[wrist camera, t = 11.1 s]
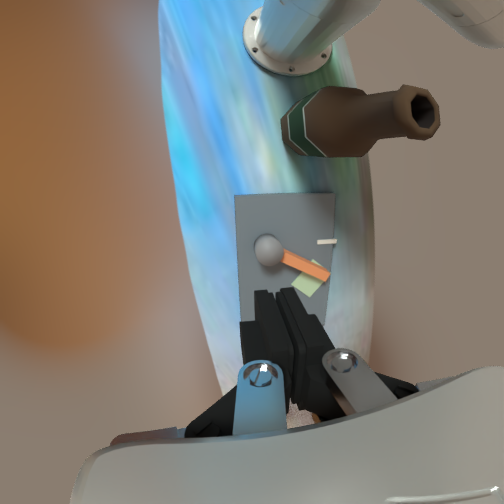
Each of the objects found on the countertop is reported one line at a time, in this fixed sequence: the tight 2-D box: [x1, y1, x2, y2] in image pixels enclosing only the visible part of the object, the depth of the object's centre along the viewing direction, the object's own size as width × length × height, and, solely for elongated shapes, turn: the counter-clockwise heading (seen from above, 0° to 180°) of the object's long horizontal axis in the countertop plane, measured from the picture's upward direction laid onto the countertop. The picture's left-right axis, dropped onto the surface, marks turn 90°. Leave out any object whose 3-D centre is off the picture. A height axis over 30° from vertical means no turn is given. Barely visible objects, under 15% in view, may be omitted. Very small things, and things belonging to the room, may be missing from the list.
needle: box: [253, 234, 330, 282], centre depth 38 cm, size 12×4×3 cm, turn 63°
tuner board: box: [234, 192, 337, 325], centre depth 41 cm, size 22×14×1 cm, turn 2°
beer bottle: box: [281, 85, 440, 157], centre depth 23 cm, size 8×8×24 cm
